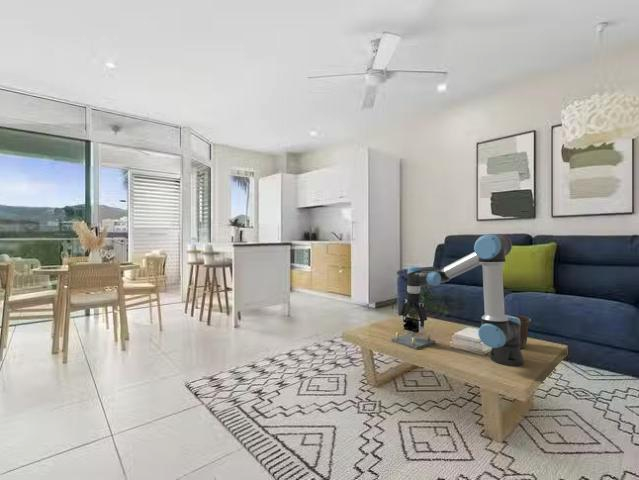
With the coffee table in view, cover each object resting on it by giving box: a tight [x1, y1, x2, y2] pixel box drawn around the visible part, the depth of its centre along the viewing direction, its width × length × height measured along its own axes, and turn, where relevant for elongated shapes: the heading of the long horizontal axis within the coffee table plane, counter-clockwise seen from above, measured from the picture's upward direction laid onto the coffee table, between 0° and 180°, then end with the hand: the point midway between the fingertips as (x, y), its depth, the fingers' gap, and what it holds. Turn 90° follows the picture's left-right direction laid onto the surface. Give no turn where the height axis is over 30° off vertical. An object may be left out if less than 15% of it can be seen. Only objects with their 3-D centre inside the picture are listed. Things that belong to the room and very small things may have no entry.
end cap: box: [402, 316, 425, 334], centre depth 198 cm, size 10×7×7 cm
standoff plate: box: [390, 332, 436, 351], centre depth 198 cm, size 18×18×6 cm
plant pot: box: [504, 313, 531, 349], centre depth 193 cm, size 16×16×16 cm
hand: (413, 329), depth 198 cm, fingers closed on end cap, 10 cm apart
